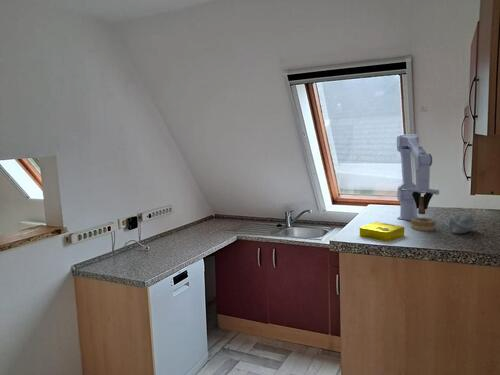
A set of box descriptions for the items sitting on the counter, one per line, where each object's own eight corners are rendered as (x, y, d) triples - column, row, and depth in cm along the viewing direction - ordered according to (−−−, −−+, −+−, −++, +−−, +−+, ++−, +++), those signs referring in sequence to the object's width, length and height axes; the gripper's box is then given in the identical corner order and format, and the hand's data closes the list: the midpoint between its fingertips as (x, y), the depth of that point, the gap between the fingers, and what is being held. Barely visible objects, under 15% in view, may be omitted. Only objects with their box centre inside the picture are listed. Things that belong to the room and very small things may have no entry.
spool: (454, 220, 196) (463, 204, 190) (473, 231, 191) (483, 215, 184) (440, 231, 188) (448, 215, 182) (459, 244, 183) (469, 227, 177)
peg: (419, 212, 197) (420, 196, 196) (426, 213, 195) (426, 196, 194) (417, 213, 195) (417, 197, 194) (423, 214, 193) (424, 197, 192)
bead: (416, 224, 202) (416, 216, 202) (437, 227, 196) (437, 219, 195) (408, 228, 195) (408, 220, 195) (429, 231, 188) (430, 223, 188)
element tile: (406, 236, 183) (406, 225, 183) (388, 242, 174) (388, 231, 173) (376, 230, 195) (376, 220, 194) (357, 236, 185) (357, 226, 184)
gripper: (404, 179, 195) (403, 208, 197) (435, 181, 185) (434, 211, 187) (410, 178, 200) (409, 205, 202) (441, 180, 190) (440, 209, 192)
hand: (421, 208), depth 194 cm, fingers closed on peg, 3 cm apart
